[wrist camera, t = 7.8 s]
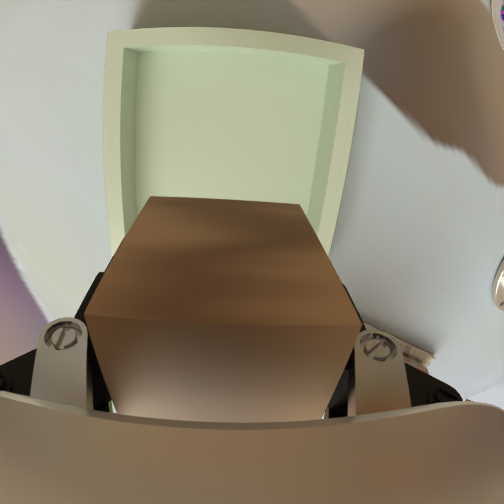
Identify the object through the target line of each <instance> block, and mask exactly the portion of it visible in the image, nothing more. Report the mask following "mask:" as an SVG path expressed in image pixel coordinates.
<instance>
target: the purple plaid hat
mask: <svg viewBox="0 0 504 504" xmlns="http://www.w3.org/2000/svg"><path fill="white" fill-rule="evenodd" d="M502 1H503V0H492V1H491V4H492V15H493V21H494V25H495V29H496V32H497V35H498V38H499V41H500V43H501V46H502V48H503V50H504V28H503V27H502V24H501V18H502V20H503V22H504V6H503V7H502V8H501V4H502ZM500 9H501V17H500Z"/></svg>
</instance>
